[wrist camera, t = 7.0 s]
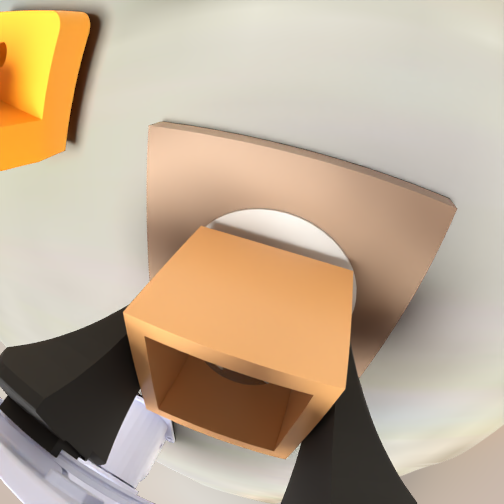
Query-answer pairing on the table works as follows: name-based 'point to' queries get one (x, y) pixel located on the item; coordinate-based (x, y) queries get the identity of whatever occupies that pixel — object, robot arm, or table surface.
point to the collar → (242, 340)
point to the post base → (297, 215)
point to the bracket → (38, 81)
